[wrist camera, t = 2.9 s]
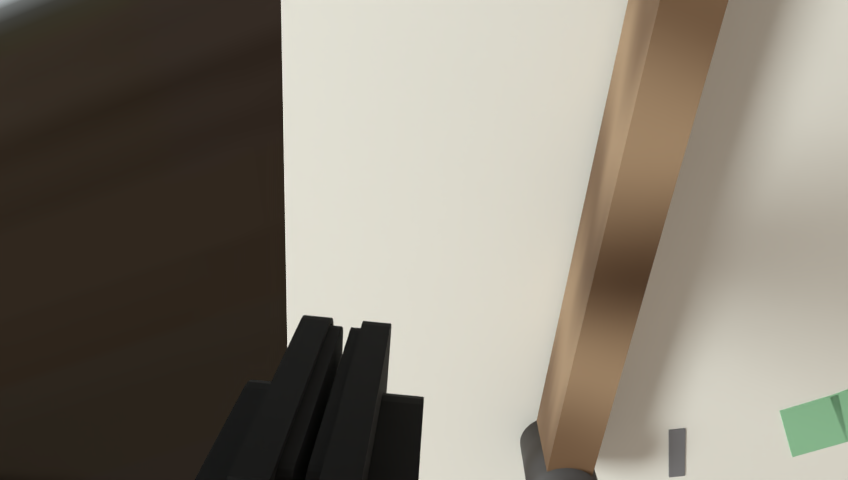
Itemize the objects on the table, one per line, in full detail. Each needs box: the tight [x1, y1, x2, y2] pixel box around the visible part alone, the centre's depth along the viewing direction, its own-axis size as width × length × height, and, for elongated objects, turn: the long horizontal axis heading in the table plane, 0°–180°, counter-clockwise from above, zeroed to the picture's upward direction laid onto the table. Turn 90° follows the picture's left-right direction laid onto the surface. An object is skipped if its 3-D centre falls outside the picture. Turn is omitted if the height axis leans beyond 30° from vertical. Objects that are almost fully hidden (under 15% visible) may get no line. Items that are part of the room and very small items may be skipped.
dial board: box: [281, 0, 848, 480], centre depth 19 cm, size 25×27×2 cm
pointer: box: [520, 0, 728, 480], centre depth 16 cm, size 21×4×3 cm, turn 175°
